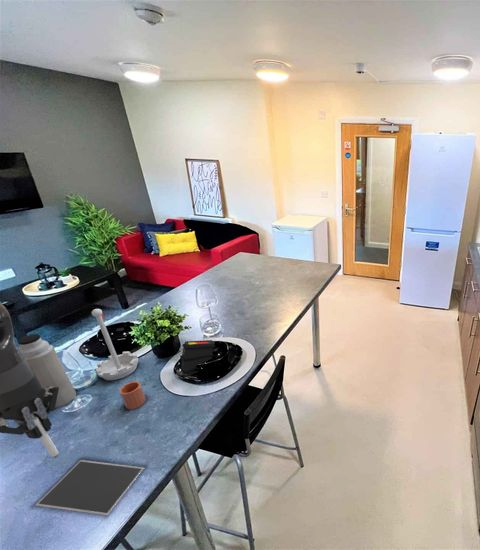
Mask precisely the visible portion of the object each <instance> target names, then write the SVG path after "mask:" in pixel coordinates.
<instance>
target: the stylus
mask: <svg viewBox="0 0 480 550" xmlns="http://www.w3.org/2000/svg"><path fill="white" fill-rule="evenodd" d="M33 422H34V424H35V426H37V427H38V428H39V430H40V432H41V433H42V435H43V436H42V437H40V438H39V440H40V441H41V443H42V445H44V447H45V449H46V450H47V452H48V454H49V456H50V457H51V458H53V459H57V458H58V457H59V456H60V455H59V449H58V448H57V447H56V445H55V444H54V442H53V440H52V439H51V437H50V435H49V433H48V431H46V430H45V429H44V427H43V425H42V424H41V422H40V420H39V419H38V417H33Z"/></svg>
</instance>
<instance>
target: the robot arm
mask: <svg viewBox="0 0 480 550" xmlns="http://www.w3.org/2000/svg"><path fill="white" fill-rule="evenodd" d="M19 349H20V348H19V346H18V344H17V343H16V342H15V333H14V328H13V322H12V317H11V315H10V312H9V310H8V309H7V307H6V306H5V305H4V304H2V302H0V434H10V435H19V436H21V435H24V434H25V435H26V436H27V438H29V439H33V440H36V439H38V440H40V437H42V436H43V435H42V433H41V432H40V430H39V428H38V427H37V426H35V424H34V422H33V418H34V417H38V419H39V420H40V422H41V424H42V425H43V427H44V429H45V430H46V432H50V430H51V429H52V425H53V424H52V422H51V420H50V417H49V414H50V413H51V412H54V411H55V409H56V408H55V405H56V400H57V395H58V391H59V387H53V386H47V387H46V388H43V387H41V384H40V382H39V380H38V379H37V377H36V375H35V373H34V371H33V369H32V367H31V366H30V364H29V363H28V362H27V361H26V360H25V358H24V357H23V355H22V353H21V352H20V350H19ZM48 404H49V406H48ZM7 420H9V421H10V420H11V421H13V422H14V423H15V424H17V427H11V426H10V424H9V422H7Z"/></svg>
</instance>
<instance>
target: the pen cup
mask: <svg viewBox="0 0 480 550" xmlns="http://www.w3.org/2000/svg"><path fill="white" fill-rule="evenodd" d="M119 394H120V397H121V399H122V402H123V404H124V407H125V408H126V409H127V410H134V409H137V408H139V407H141V406H142V405H143V404H144V403H145V402H146V400H147V398H146V395H145V392H144V389H143V387H142V385H141V383H140V382H139V381H131V382H128V383H125V384H124V385H123V386H122V387H120V389H119Z"/></svg>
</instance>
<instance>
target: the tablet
mask: <svg viewBox="0 0 480 550" xmlns="http://www.w3.org/2000/svg"><path fill="white" fill-rule="evenodd" d="M144 470H145V467H144V466H134V465H126V464H117V463H110V462H101V461H92V460H86V459H85V460H84V459H80V460H79V461H78V462H77V463H76V464H75V465H74V466H73V467H72V468H71V469H70V470H69V471H68V472H67V473H66V474H65V475H63V477H62V478H61V479H60V480H59V481H57V483H56V484H55V485H54V486H53V487H52V488H51V489H50V490H49V491H48V492H47V493H46V494H45V495H44V496H43V497H42V498H40V500H38V501H37V503H36V504H34V506H35V507H41V508H48V509H56V510H63V511H71V512H79V513H85V514H92V515H99V516H100V515H101V516H108V515H109V514H110V513H111V511H112V510H113V509H114V507H116V505H117V504H118V502H119V501H120V500H121V499H122V498H123V496H124V495H125V493H126V492H127V491H128V490H129V488H130V487H131V486H132V484H133V483H134V482H135V481H136V479H137V478H138V477H139V476H140V474H141V473H142V472H143V471H144Z"/></svg>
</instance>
